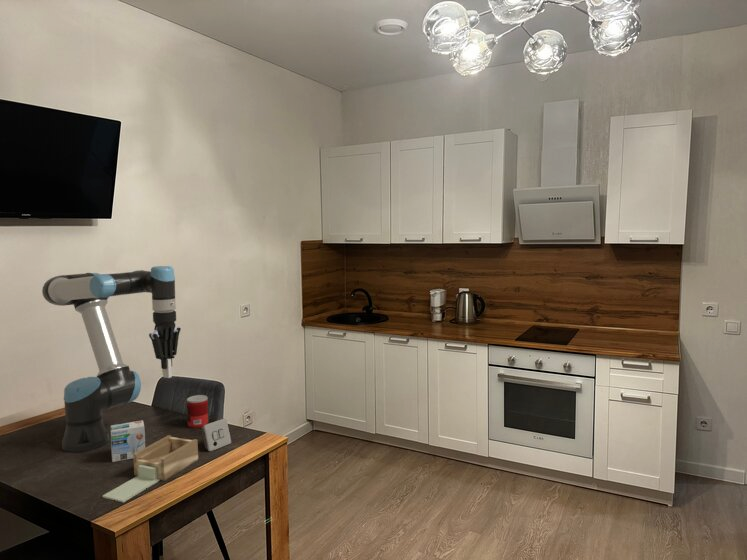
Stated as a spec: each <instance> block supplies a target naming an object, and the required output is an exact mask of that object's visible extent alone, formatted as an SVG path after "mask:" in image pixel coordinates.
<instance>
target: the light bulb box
mask: <svg viewBox="0 0 747 560" xmlns="http://www.w3.org/2000/svg"><path fill="white" fill-rule="evenodd" d="M145 432H146V431H145V422H144V420H136V421H131V422H124V423H118V424H112V425H110V449H111V461H112V463H116V462H120V461H126V460H130V459H133V454H134V453H136V452H138V451H140V450H142V449H144V448H145V447H146V433H145Z"/></svg>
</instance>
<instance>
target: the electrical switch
mask: <svg viewBox="0 0 747 560" xmlns="http://www.w3.org/2000/svg"><path fill="white" fill-rule="evenodd" d="M200 430H201V435H202V440H203V442H204V448H205V450H207V452H213V451H215V450H218V449H220V448H223V447H225V446H228V445H231V444H232V439H231V433H230V430H229V425H228V420H227V419H226V418H222V419H219V420H215V421H213V422H208V424H206V425H204V427H201V429H200Z"/></svg>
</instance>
